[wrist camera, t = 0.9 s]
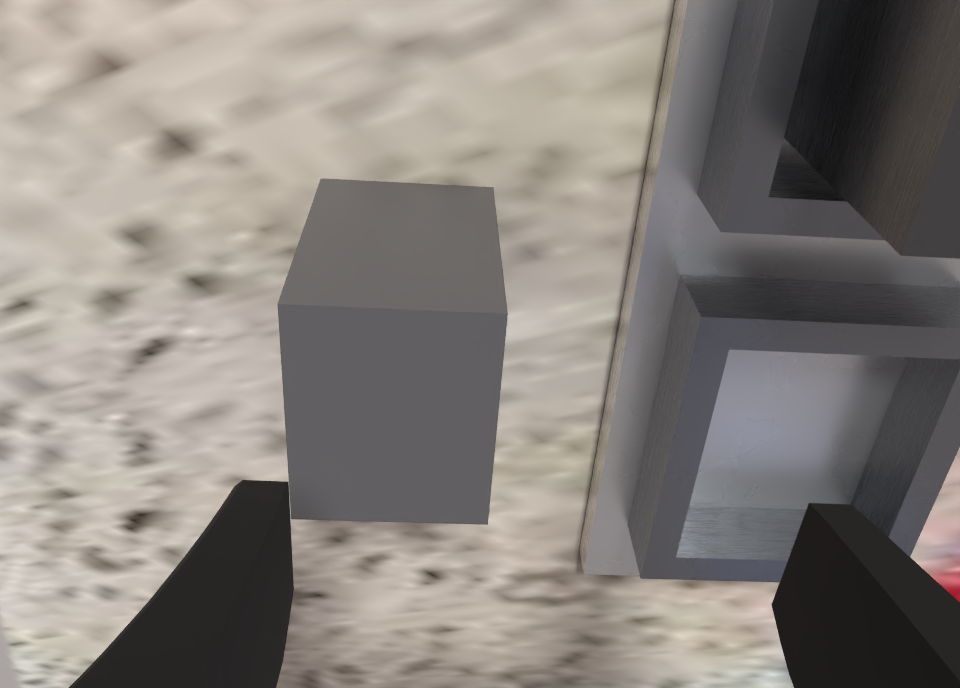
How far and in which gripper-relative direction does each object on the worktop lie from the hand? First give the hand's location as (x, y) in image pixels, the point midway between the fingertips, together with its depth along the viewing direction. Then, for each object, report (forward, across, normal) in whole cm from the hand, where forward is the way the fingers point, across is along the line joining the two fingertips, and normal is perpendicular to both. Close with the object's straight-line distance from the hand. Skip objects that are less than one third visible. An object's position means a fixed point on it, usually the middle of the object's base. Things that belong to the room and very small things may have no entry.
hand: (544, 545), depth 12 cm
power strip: (+10, -8, 0) cm, 13 cm away
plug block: (+10, +2, +1) cm, 11 cm away
